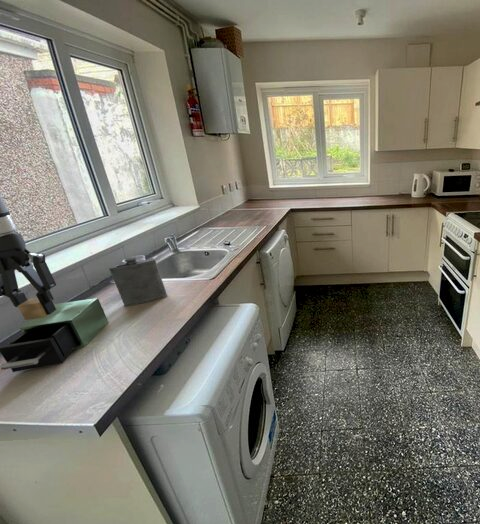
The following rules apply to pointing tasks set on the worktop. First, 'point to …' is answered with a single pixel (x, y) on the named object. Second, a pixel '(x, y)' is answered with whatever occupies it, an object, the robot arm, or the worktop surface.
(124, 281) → the flask
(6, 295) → the robot arm
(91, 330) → the fryer
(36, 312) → the block
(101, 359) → the worktop surface
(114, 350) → the worktop surface
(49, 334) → the fryer drawer
